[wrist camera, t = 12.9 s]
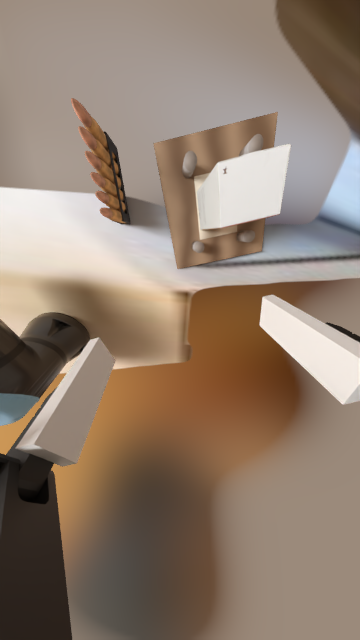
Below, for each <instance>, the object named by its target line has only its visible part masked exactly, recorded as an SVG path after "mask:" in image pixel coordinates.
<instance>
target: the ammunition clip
mask: <svg viewBox="0 0 360 640" xmlns="http://www.w3.org/2000/svg"><path fill="white" fill-rule="evenodd" d="M71 103H72V106H73V108H74V110H75V112H76V114H77V116H78V117H79V119H80V120H81V122H82V123H83V125H84V126H85V128H86V129H85V128H83V127H80V126H79V128H78V129H79V133H80V135H81V137H82V138H83V140H84V141H85V143H86V144H87V145H88V147H89V148H90V149H91V151H92V152H89V151H85V156H86V158H87V160H88V161H89V163H90V164H91V165H92V166H93V167H94V168H95V169H96V171H97V172H98V173H99V174H98V173H95V172H91V174H90V175H91V178H92V179H93V181H94V182H95V183H96V184H97V185H98V186H99V187H101V189H102V190H103V191H105V192H106V193H104V192H102V191H97V192H96V193H95V194H96V196H97V198H98V199H99V200H100V201H102V202H103V203H105V204H106V205H107V206H108V207H110V208H101V209H100V213H101V214H102V215H103V216H105V217H107V218H109V219H110V220H112V221H114V222H117V223H120V224H130V219H129V214H128V208H127V202H126V197H125V191H124V185H123V180H122V174H121V168H120V163H119V158H118V152H117V148H116V146H115V145H114V143H113V142H112V140H111V139H110V137H109V136H108V134H107V133H106V132H103V131H102V129H101V128H100V126H99V125H98V123H97V122H96V121H95V120H94V119H93V118H92V117H91V116H90V114H89V113H88V112H87V111H86V109H85V108H84V107H83V106H82V105H81V103H79V102H78V101H77V100H75V99H73V98H72V99H71Z"/></svg>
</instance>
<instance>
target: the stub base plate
mask: <svg viewBox="0 0 360 640" xmlns="http://www.w3.org/2000/svg"><path fill="white" fill-rule="evenodd" d="M277 114H278V112H276V113H272V114H268V115H264V116H260V117H256V118H252V119H248V120H244V121H240V122H236V123H233V124H228V125H225V126H221V127H216V128H213V129H209V130H205V131H201V132H197V133H193V134H189V135H185V136H181V137H177V138H173V139H169V140H165V141H161V142H157V143H154V149H155V154H156V159H157V165H158V169H159V175H160V180H161V186H162V191H163V196H164V201H165V206H166V212H167V217H168V222H169V227H170V233H171V238H172V243H173V248H174V253H175V259H176V264H177V269H180V268H185V267H189V266H194V265H199V264H203V263H208V262H213V261H218V260H222V259H227V258H232V257H236V256H241V255H246V254H250V253H255V252H260V251H262V243H263V235H264V226H265V218H263V219H259V220H255V221H251V222H247V223H243V224H239V225H234V226H230V227H226V228H219V229H206V230H201V229H200V219H199V208H198V199H197V191H198V189H199V188H200V187H201V185H202V184H203V182H204V181H205V180H206V178H207V177H208V175H209V174H210V173H211V171H212V170H213V168H214V167H215V165H216V164H217V163H218V162H221V161H224V160H228V159H231V158H235V157H239V156H242V155H244V154H248V153H251V152H255V151H261V150H265V149H269V148H273V147H274V140H275V131H276V123H277Z"/></svg>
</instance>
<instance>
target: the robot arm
mask: <svg viewBox="0 0 360 640" xmlns="http://www.w3.org/2000/svg"><path fill="white" fill-rule="evenodd" d="M260 326H261V327H262V328H263V329H264V330H265V331H266V332H267V333H268V334H269V335H270V336H271V337H272V338H273V339H274V340H275V341H276V342H278V344H279V345H281V346H282V347H283V348H284V349H285V350H286V351H287V352H288V353H289V354H290V355H291V356H292V357H293V358H294V359H295V360H296V361H297V362H298V363H300V364H301V365H302V366H303V367H304V368H305V369H306V370H307V371H308V372H309V373H310V374H311V375H312V376H313V377H314V378H315V379H316V380H317V381H318V382H319V383H321V384H322V385H323V386H324V387H325V388H326V389H327V390H328V391H329V392H330V393H331V394H332V395H333V396H334V397H335V398H336V399H337V400H338V401H340V402H341V403H342V404H348V403H352V402H357V401H360V337H359V336H357V335H356V334H352V332H350V331H348V330H346V329H344V328H342V327H340V326H337V325H334V324H331V323H323V322H321V321H320V320H318V319H316V318H314V317H312V316H310V315H309V314H307V313H305V312H303V311H302V310H300V309H298V308H296V307H294V306H292V305H291V304H289V303H287V302H285V301H283V300H281V299H280V298H278V297H276V296H274V295H269V296H265V297H263V299H262V308H261V318H260ZM78 355H79V357H78V358H77V359H76V361H75V362H74V364H73V365H72V367H71V368H70V370H69V371H68V373H67V374H66V376H65V377H64V378H63V380H62V381H61V383H60V384H59V386H58V387H57V388H56V389H55V390H54V391H53V392H52V393H51V394H50V395H49V396H48V397H47V398H46V399H45V401H44V402H43V404H42V405H41V408H39V409H38V411H37V412H36V414H35V416H34V417H33V418H32V419H31V421H30V422H29V423H28V425H27V426H26V428H25V429H24V430H23V432H22V433H21V435H20V436H19V438H18V439H17V440H16V442H15V443H14V445H13V446H12V447H11V449H10V450H9V451H8V453H7V454H6V455H4V454H1V453H0V640H72V633H71V624H70V614H69V605H68V597H67V587H66V577H65V569H64V559H63V550H62V540H61V532H60V523H59V514H58V504H57V494H56V485H55V476H54V473H53V471H51V468H52V466H53V464H54V463H55V464H57V465H60V466H67V465H71V464H76V463H77V461H78V459H79V456H80V454H81V451H82V448H83V446H84V443H85V440H86V438H87V435H88V432H89V430H90V427H91V424H92V422H93V419H94V416H95V414H96V411H97V408H98V406H99V403H100V400H101V398H102V395H103V392H104V390H105V387H106V384H107V381H108V379H109V376H110V374H111V371H112V368H113V366H114V363H115V359H114V358H113V356H112V355H111V353H110V352H109V350H108V349H107V348H106V346H105V345H104V343H103V342H102V340H101V339H100V338H95V339H91V340H90V337H89V334H88V332H87V330H86V329H85V327H84V326H83V325H82V324H81V323H79V322H78V321H77V320H75V319H73V318H71V317H69V316H67V315H63V314H59V313H44V314H41V315H39V316H38V317H36V318H35V319H33V320H32V321H31V322H30V323H29V324H28V325H27V327H26V328H25V330H24V331H23V333H22V334H21V336H20V337H18V336H17V335H16V334H15V333H14V332H13V331H12V330H11V329H10V328H9V327H8V326H7V325H6V324H5V323H4V322H3V321H2V320H1V319H0V426H1V425H7V424H11V423H14V422H16V421H18V420H20V419H21V418H23V416H25V414H27V412H28V411H29V410H30V409H31V408H32V407H33V406H34V404H35V403H36V402H38V401H39V399H40V397H41V396H42V395H43V393H44V392H45V391H46V389H47V388H48V387H49V385H50V384H51V383H52V381H53V380H54V379H55V378H56V376H57V375H58V374H59V372H60V371H61V370H62V368H63V367H64V366H65V365H66V363H68V362H69V361H71V360H72V359H74V358H75V357H77V356H78Z"/></svg>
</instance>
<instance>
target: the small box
mask: <svg viewBox="0 0 360 640" xmlns="http://www.w3.org/2000/svg"><path fill="white" fill-rule="evenodd" d="M290 149H291V145H290V144H287V145H282V146H277V147H273V148H269V149H265V150H261V151H255V152H251V153H248V154H244V155H242V156H239V157H235V158H231V159H228V160H224V161H221V162H218V163H217V164H216V165H215V167H214V168H213V170H212V171H211V173H210V174H209V175H208V177H207V178H206V180H205V181H204V182H203V184H202V185H201V187H200V188H199V189H198V191H197V199H198V208H199V219H200V229H201V230H206V229H219V228H226V227H230V226H234V225H239V224H243V223H247V222H251V221H255V220H259V219H263V218H268V217H271V216H276V215H279V214H280V211H281V205H282V198H283V192H284V185H285V179H286V172H287V167H288V160H289V154H290Z"/></svg>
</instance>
